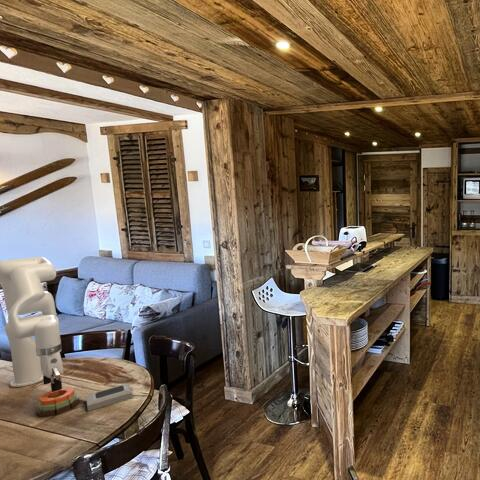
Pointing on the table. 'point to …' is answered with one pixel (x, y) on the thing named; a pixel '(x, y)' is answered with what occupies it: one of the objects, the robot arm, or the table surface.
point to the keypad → (108, 396)
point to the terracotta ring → (48, 400)
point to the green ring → (57, 406)
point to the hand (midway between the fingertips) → (52, 386)
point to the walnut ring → (58, 411)
